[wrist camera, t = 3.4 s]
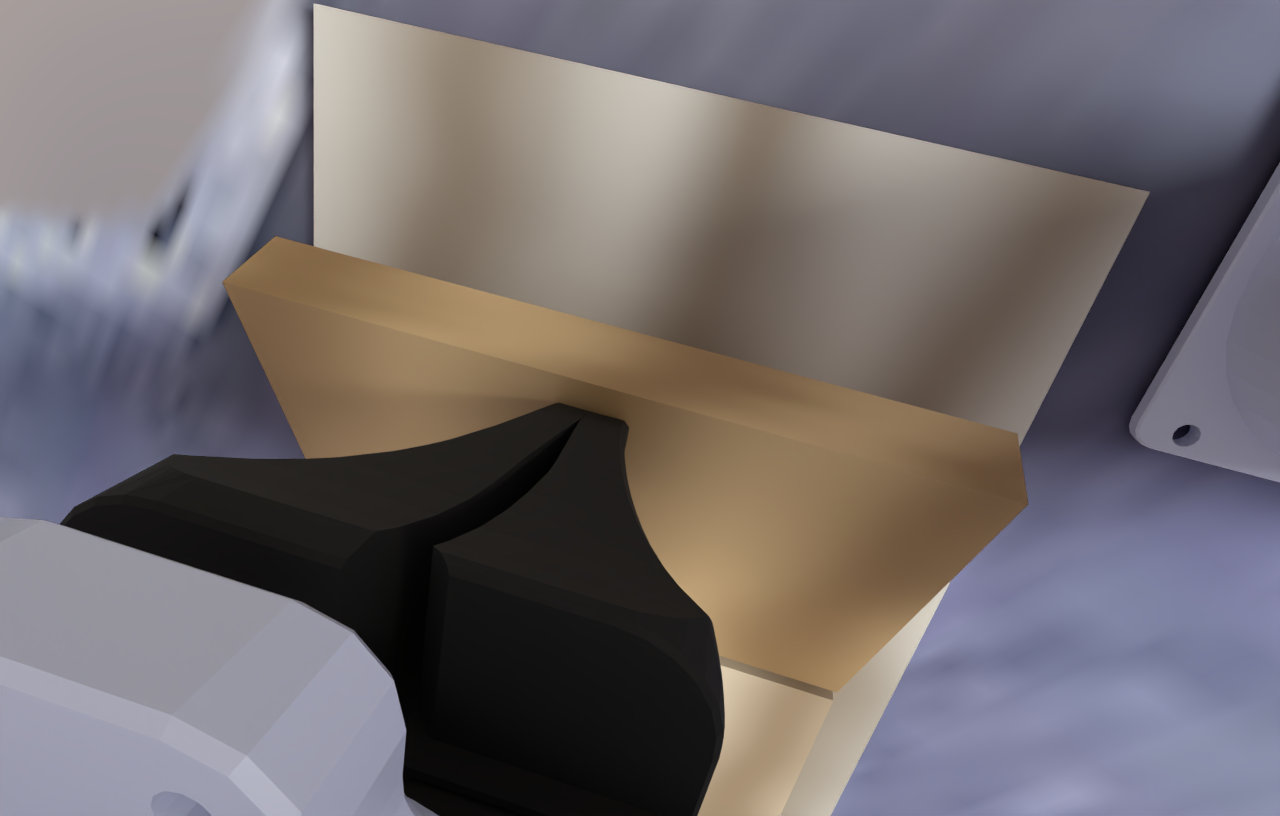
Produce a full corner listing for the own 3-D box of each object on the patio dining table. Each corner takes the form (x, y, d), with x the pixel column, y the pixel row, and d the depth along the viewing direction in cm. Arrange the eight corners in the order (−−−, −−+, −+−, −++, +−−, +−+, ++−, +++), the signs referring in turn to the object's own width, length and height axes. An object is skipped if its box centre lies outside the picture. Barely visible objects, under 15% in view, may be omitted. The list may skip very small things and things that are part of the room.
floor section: (1137, 190, 13) (1195, 199, 11) (819, 820, 22) (823, 884, 20) (327, 7, 15) (263, -11, 13) (322, 655, 23) (283, 699, 22)
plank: (1017, 433, 11) (1028, 504, 10) (840, 638, 18) (837, 692, 17) (275, 235, 13) (222, 281, 12) (371, 495, 19) (342, 537, 18)
